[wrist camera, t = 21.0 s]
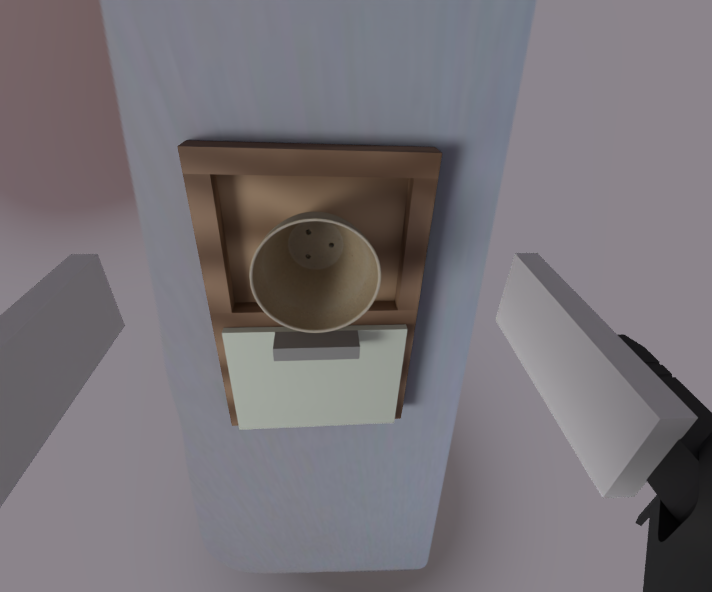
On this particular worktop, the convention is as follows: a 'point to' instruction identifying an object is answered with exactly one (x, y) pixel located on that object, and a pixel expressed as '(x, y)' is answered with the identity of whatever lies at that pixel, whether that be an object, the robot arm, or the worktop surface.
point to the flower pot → (315, 273)
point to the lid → (314, 375)
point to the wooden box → (308, 194)
